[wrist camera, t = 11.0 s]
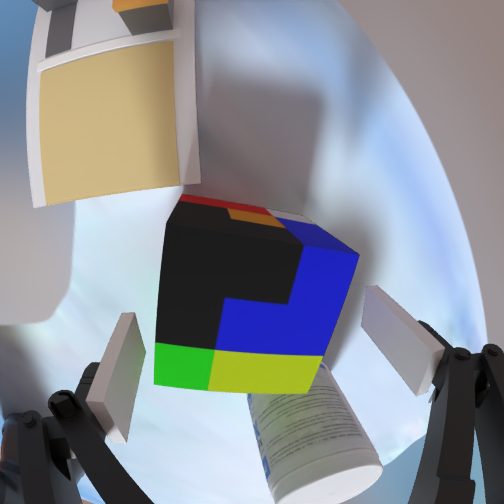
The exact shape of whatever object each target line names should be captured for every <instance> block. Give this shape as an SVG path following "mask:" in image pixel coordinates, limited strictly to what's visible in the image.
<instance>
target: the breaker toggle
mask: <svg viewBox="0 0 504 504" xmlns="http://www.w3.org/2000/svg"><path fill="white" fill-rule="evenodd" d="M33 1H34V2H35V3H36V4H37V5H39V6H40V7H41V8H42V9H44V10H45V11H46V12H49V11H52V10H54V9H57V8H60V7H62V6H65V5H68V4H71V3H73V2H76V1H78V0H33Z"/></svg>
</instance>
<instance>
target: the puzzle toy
mask: <svg viewBox="0 0 504 504" xmlns="http://www.w3.org/2000/svg"><path fill="white" fill-rule="evenodd" d="M359 256H360V255H359V254H358V253H357V252H355V251H354V250H352V249H351V248H349V247H348V246H347V245H345V244H344V243H342V242H341V241H339V240H338V239H337V238H335V237H334V236H332V235H331V234H329V233H328V232H326V231H325V230H323V229H322V228H320V227H319V226H317V225H316V224H315V223H313V222H312V221H310V220H309V219H307V218H306V217H304V216H302V215H297V214H292V213H287V212H282V211H277V210H271V209H266V208H261V207H256V206H250V205H245V204H239V203H233V202H228V201H222V200H216V199H210V198H204V197H198V196H192V195H185V194H182V195H181V197H180V199H179V201H178V202H177V204H176V206H175V208H174V209H173V211H172V213H171V215H170V217H169V219H168V221H167V222H166V229H165V236H164V244H163V253H162V262H161V271H160V281H159V292H158V305H157V319H156V336H155V359H154V385H161V386H169V387H177V388H185V389H195V390H205V391H218V392H233V393H257V394H305V393H308V391H309V389H310V386H311V384H312V382H313V380H314V377H315V375H316V373H317V370H318V368H319V366H320V363H321V361H322V358H323V356H324V354H325V351H326V349H327V346H328V344H329V341H330V339H331V336H332V333H333V331H334V328H335V326H336V323H337V320H338V318H339V315H340V312H341V309H342V307H343V304H344V301H345V298H346V295H347V292H348V289H349V287H350V284H351V281H352V278H353V274H354V271H355V268H356V265H357V262H358V259H359Z"/></svg>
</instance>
